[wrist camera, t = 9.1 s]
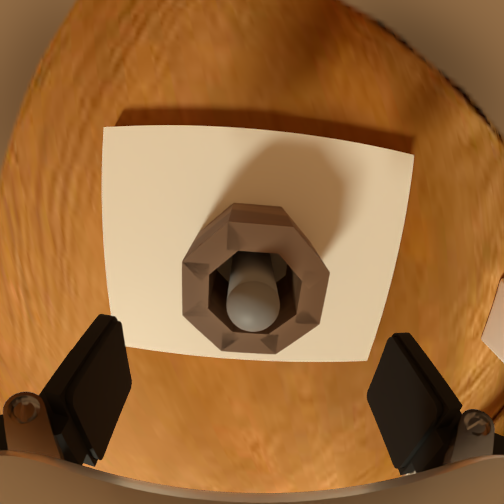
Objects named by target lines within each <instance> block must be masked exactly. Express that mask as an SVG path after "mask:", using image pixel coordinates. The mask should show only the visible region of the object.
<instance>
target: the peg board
mask: <svg viewBox="0 0 504 504" xmlns="http://www.w3.org/2000/svg"><path fill="white" fill-rule="evenodd" d="M413 162H414V155H412V154H408V153H403V152H399V151H395V150H390V149H386V148H381V147H376V146H371V145H366V144H361V143H356V142H350V141H344V140H339V139H332V138H326V137H319V136H313V135H305V134H297V133H289V132H280V131H271V130H260V129H249V128H235V127H217V126H189V125H145V126H118V127H104V133H103V152H102V221H103V241H104V255H105V267H106V278H107V287H108V295H109V303H110V310H111V316H115V317H116V318H117V320H118V321H120V322H121V323H122V328H123V334H124V341H125V346H128V347H134V348H141V349H147V350H154V351H162V352H170V353H178V354H186V355H196V356H206V357H217V358H230V359H244V360H263V361H292V362H343V361H367V359H368V356H369V353H370V350H371V347H372V344H373V341H374V338H375V335H376V332H377V329H378V326H379V323H380V319H381V316H382V313H383V309H384V306H385V302H386V299H387V295H388V291H389V288H390V284H391V280H392V276H393V272H394V268H395V264H396V259H397V255H398V251H399V246H400V241H401V236H402V231H403V226H404V221H405V216H406V210H407V204H408V198H409V191H410V185H411V177H412V170H413ZM232 203H244V204H256V205H268V206H280V207H282V208H283V209H284V210H285V211H286V213H287V214H288V215H289V216H290V217H291V219H292V220H293V221H294V222H295V224H296V225H297V226H298V227H299V229H300V230H301V231H302V232H303V233H304V235H305V236H306V237H307V238H308V240H309V241H310V242H311V244H312V245H313V247H314V248H315V250H316V251H317V253H318V255H319V256H320V258H321V259H322V261H323V262H324V264H325V265H326V267H327V269H328V270H329V272H330V275H329V281H328V286H327V291H326V296H325V301H324V306H323V311H322V315H321V320H320V324H319V325H318V326H316V327H315V328H314V329H312V330H311V331H309V332H308V333H306V334H305V335H304V336H302V337H301V338H299V339H298V340H296V341H295V342H293V343H292V344H290V345H289V346H287V347H286V348H284V349H283V350H281V351H280V352H278V353H277V354H255V353H239V352H225V351H221V350H219V349H218V348H217V347H216V346H215V345H214V344H213V343H212V342H211V341H209V340H208V339H207V338H206V337H205V336H204V335H203V334H202V333H201V332H200V331H198V330H197V329H196V328H195V327H194V326H193V325H192V324H191V323H190V322H189V321H188V320H187V319H186V318H185V317H184V316H183V315H182V261H183V259H184V257H185V255H186V253H187V252H188V250H189V248H190V246H191V245H192V243H193V241H194V239H195V238H196V236H197V234H198V233H199V232H200V231H201V230H202V229H203V228H205V227H206V226H207V225H208V224H209V223H210V222H211V221H213V220H214V219H215V218H216V217H217V216H218V215H220V214H221V213H222V212H223V211H224V210H225V209H227V208H228V207H229V206H230V205H231V204H232ZM286 267H287V263H286V262H285V261H284V260H283V258H282V257H281V256H280V255H279V254H276V253H263V252H250V251H237V252H236V253H235V254H234V255H232V256H231V257H230V258H229V259H228V260H226V261H225V262H224V263H223V264H221V265H220V266H219V267H218V268H217V271H218V272H219V273H220V274H221V275H222V276H223V277H224V278H225V279H226V280H227V281H228V282H229V288H228V295H227V303H226V306H227V313H228V316H229V318H230V319H231V321H232V322H233V323H234V324H235V325H236V326H237V327H239V328H240V329H242V330H245V331H250V332H257V331H261V330H264V329H266V328H268V327H269V326H270V325H272V323H273V322H274V321H275V320H276V318H277V316H278V314H279V309H280V301H279V296H278V291H277V286H276V282H277V281H279V280H280V279H281V278H282V277H284V276H285V275H286Z"/></svg>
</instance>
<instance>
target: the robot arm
mask: <svg viewBox="0 0 504 504" xmlns="http://www.w3.org/2000/svg"><path fill="white" fill-rule="evenodd" d="M131 384H132V380H131V374H130V369H129V364H128V359H127V353H126V347H125V341H124V334H123V328H122V323H121V322H120V321H118V320H117V318H116V317H115V316H110V315H104V314H100V315H98V317H97V318H96V319H95V320H94V322H93V323H92V324H91V325H90V327H89V328H88V329H87V331H86V332H85V333H84V334H83V336H82V337H81V338H80V340H79V341H78V342H77V344H76V345H75V346H74V348H73V349H72V350H71V351H70V352H69V354H68V355H67V357H66V358H65V359H64V361H63V362H62V363H61V365H60V366H59V368H58V369H57V370H56V372H55V373H54V375H53V376H52V377H51V379H50V380H49V382H48V383H47V384H46V386H45V387H44V389H43V390H42V392H41V393H40V395H37V394H35V393H32V392H20V393H17V394H14V395H13V396H11V397H10V398H9V399H8V400H7V401H6V402H5V405H4V407H3V415H0V504H504V436H501V435H499V434H496V433H494V431H495V428H494V423H493V421H492V419H491V418H490V417H489V416H488V415H487V414H486V413H485V412H482V411H480V410H476V409H469V410H467V411H465V412H464V413H463V414H461V412H460V409H461V408H462V404H461V403H460V401H459V400H458V398H457V397H456V396H455V394H454V393H453V391H452V390H451V388H450V387H449V385H448V384H447V383H446V381H445V380H444V378H443V377H442V376H441V374H440V373H439V372H438V370H437V369H436V367H435V366H434V365H433V363H432V362H431V361H430V359H429V358H428V357H427V355H426V354H425V353H424V351H423V350H422V349H421V347H420V346H419V345H418V343H417V342H416V341H415V339H414V338H413V337H412V335H411V334H410V333H394V334H393V335H392V337H390V338H389V339H388V340H387V343H386V346H385V348H384V351H383V354H382V357H381V359H380V362H379V364H378V367H377V370H376V372H375V375H374V377H373V380H372V382H371V384H370V387H369V389H368V392H367V400H368V403H369V405H370V408H371V410H372V412H373V415H374V417H375V420H376V422H377V425H378V427H379V430H380V432H381V435H382V437H383V440H384V442H385V445H386V447H387V450H388V452H389V455H390V457H391V460H392V463H393V465H394V467H395V468H398V469H399V472H400V475H403V476H402V477H399V478H395V479H391V480H386V481H381V482H376V483H371V484H365V485H360V486H353V487H346V488H339V489H331V490H321V491H310V492H295V493H232V492H217V491H205V490H196V489H187V488H180V487H173V486H167V485H161V484H155V483H150V482H145V481H140V480H136V479H131V478H127V477H122V476H118V475H114V474H110V473H106V472H103V471H99V470H95V469H92V468H89V467H85V466H82V464H83V463H85V464H88V465H91V466H94V467H95V465H96V463H97V460H98V459H99V460H102V458H103V457H104V454H105V451H106V449H107V446H108V444H109V441H110V438H111V436H112V433H113V431H114V428H115V426H116V423H117V421H118V418H119V416H120V413H121V411H122V408H123V406H124V404H125V401H126V399H127V396H128V394H129V392H130V389H131Z"/></svg>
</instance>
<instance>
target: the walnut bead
mask: <svg viewBox="0 0 504 504" xmlns="http://www.w3.org/2000/svg"><path fill="white" fill-rule="evenodd" d="M237 251H250V252H263V253H276V254H279V255H280V256H281V257H282V258H283V260H284V261H285V262H286V263H287V267H286V275H285V276H284V277H282V278H281V279H280V280H279V281H277V282H276V286H277V291H278V296H279V301H280V309H279V314H278V316H277V318H276V320H275V321H274V322H273V323H272V325H270V326H269V327H268V328H266V329H264V330H261V331H257V332H250V331H245V330H242V329H240V328H239V327H237V326H236V325H235V324H234V323H233V322H232V321H231V319H230V318H229V316H228V313H227V306H226V303H227V295H228V288H229V282H228V281H227V280H226V279H225V278H224V277H223V276H222V275H221V274H220V273H219V272H218V271H217V268H218V267H219V266H220V265H221V264H223V263H224V262H225V261H226V260H228V259H229V258H230V257H231V256H232V255H234V254H235V253H236V252H237ZM329 275H330V272H329V270H328V269H327V267H326V265H325V264H324V262H323V261H322V259H321V258H320V256H319V255H318V253H317V251H316V250H315V248H314V247H313V245H312V244H311V242H310V241H309V240H308V238H307V237H306V236H305V235H304V233H303V232H302V231H301V230H300V229H299V227H298V226H297V225H296V224H295V222H294V221H293V220H292V219H291V217H290V216H289V215H288V214H287V213H286V211H285V210H284V209H283V208H282V207H280V206H268V205H256V204H244V203H232V204H231V205H230V206H229V207H228V208H227V209H225V210H224V211H223V212H222V213H221V214H220V215H218V216H217V217H216V218H215V219H214V220H213V221H211V222H210V223H209V224H208V225H207V226H206V227H205V228H203V229H202V230H201V231H200V232H199V233H198V234H197V236H196V238H195V239H194V241H193V243H192V245H191V246H190V248H189V250H188V252H187V253H186V255H185V257H184V259H183V261H182V315H183V316H184V317H185V318H186V319H187V320H188V321H189V322H190V323H191V324H192V325H193V326H194V327H195V328H196V329H197V330H198V331H200V332H201V333H202V334H203V335H204V336H205V337H206V338H207V339H208V340H209V341H211V342H212V343H213V344H214V345H215V346H216V347H217V348H218V349H219V350H221V351H225V352H239V353H255V354H277V353H278V352H280V351H281V350H283V349H284V348H286V347H287V346H289V345H290V344H292V343H293V342H295V341H296V340H298V339H299V338H301V337H302V336H304V335H305V334H306V333H308V332H309V331H311V330H312V329H314V328H315V327H316V326H318V325H319V324H320V320H321V315H322V311H323V306H324V301H325V296H326V291H327V286H328V281H329Z"/></svg>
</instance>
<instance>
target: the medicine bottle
mask: <svg viewBox="0 0 504 504" xmlns="http://www.w3.org/2000/svg"><path fill="white" fill-rule="evenodd" d="M481 339H482V341H483V342H484V343H485V344H486V345H487V346H488V347H489V348H490V349H491V350H492V351H493V352H494V353H495V354H496V355H497V356H498V358H499V359H500V360H501V361H502V362H503V363H504V278H502V279H501V280H500V282H499V286H498V289H497V293H496V296H495V299H494V303H493V306H492V309H491V312H490V315H489V318H488V321H487V323H486V326H485V329H484V332H483V334H482V337H481Z"/></svg>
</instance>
